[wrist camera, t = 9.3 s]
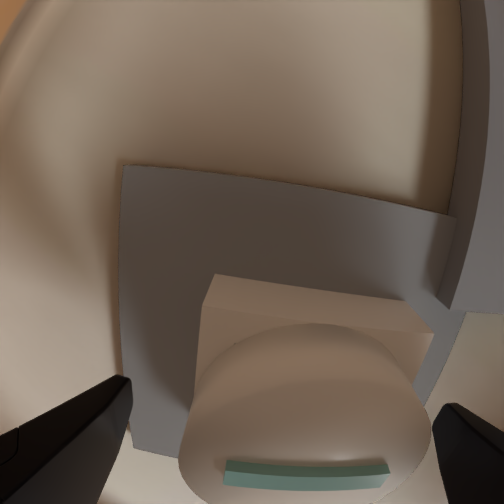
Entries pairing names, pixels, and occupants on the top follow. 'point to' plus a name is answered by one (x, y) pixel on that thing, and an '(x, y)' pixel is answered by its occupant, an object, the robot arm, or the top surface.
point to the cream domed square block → (303, 396)
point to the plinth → (479, 168)
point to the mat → (256, 271)
